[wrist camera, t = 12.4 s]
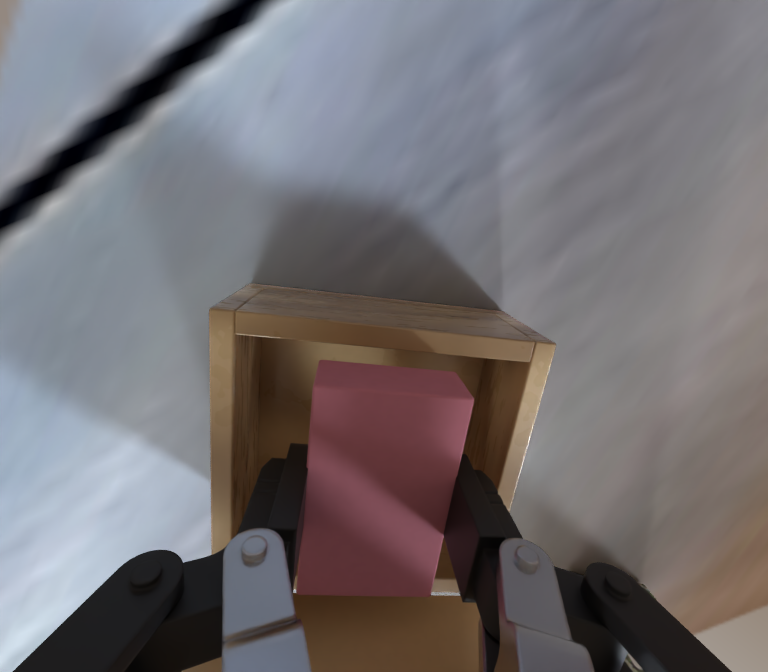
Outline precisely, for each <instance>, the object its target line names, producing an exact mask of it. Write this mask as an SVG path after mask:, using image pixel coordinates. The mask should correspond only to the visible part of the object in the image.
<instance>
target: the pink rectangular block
mask: <svg viewBox="0 0 768 672" xmlns="http://www.w3.org/2000/svg"><path fill="white" fill-rule="evenodd" d="M473 403H474V398H473V396H472V395H471V394H470V392H469V391H468V389H467V388H466V386H465V385H464V383H463V382H462V380H461V379H460V377H459V376H458V375H457V373H456V372H452V371H441V370H430V369H419V368H408V367H397V366H386V365H375V364H364V363H353V362H342V361H331V360H320V361H319V363H318V368H317V372H316V376H315V380H314V385H313V392H312V404H311V417H310V429H309V442H308V454H307V466H306V467H307V468H308V475H307V488H306V500H305V512H304V524H303V533H302V539H301V545H300V553H299V565H298V578H297V590H296V592H297V594H298V595H336V596H397V597H430V596H431V592H432V587H433V583H434V578H435V574H436V569H437V565H438V560H439V556H440V551H441V547H442V542H443V538H444V536H443V534H444V530H445V525H446V521H447V516H448V512H449V507H450V503H451V498H452V493H453V489H454V484H455V480H456V477H457V475H458V470H459V466H460V461H461V457H462V452H463V448H464V443H465V439H466V434H467V430H468V425H469V421H470V417H471V412H472V408H473Z"/></svg>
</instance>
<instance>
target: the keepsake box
mask: <svg viewBox="0 0 768 672" xmlns="http://www.w3.org/2000/svg"><path fill="white" fill-rule="evenodd" d="M209 346H210V448H211V550H212V555H213V554H215V553H217V552H219V551H221V550H222V549H223V548H225V547H226V546H227V544H228V543H229V542H230V540H232V539H233V538H234V537H235V536H236V535H237V533H238V530H239V528H240V525H241V522H242V519H243V517H244V514H245V511H246V509H247V506H248V503H249V501H250V498H251V495H252V492H253V490H254V487H255V484H256V482H257V479H258V476H259V474H260V471H261V468H262V467H263V466H264V465H265V464H266V463H267V462H268V461H269V460H270V459H271V458H285V459H286V457H287V454H288V450H289V447H290V444H291V443H300V444H308V442H309V429H310V417H311V404H312V392H313V385H314V380H315V376H316V372H317V368H318V363H319V361H320V360H331V361H342V362H353V363H364V364H375V365H386V366H397V367H408V368H419V369H430V370H441V371H452V372H456V373H457V375H458V376H459V377H460V379H461V380H462V382H463V383H464V385H465V386H466V388H467V389H468V391H469V392H470V394H471V395H472V396H473V398H474V403H473V408H472V412H471V417H470V421H469V425H468V430H467V434H466V439H465V443H464V448H463V452H462V454H466V455H467V456H468V458H469V460H470V463H471V465H472V467H473V469H474V470H481V471H482V472H483V473H485V474H486V475H487V476H488V477H489V478H490V479H491V480H492V481H493V483H494V485H495V487H496V489H497V491H498V495H500V496H501V498H502V500H503V504H504V505H505V506H506V508H507V510H508V511H509V512H510V509H511V505H512V502H513V498H514V494H515V491H516V487H517V484H518V480H519V477H520V473H521V469H522V466H523V462H524V459H525V455H526V452H527V448H528V445H529V441H530V437H531V434H532V430H533V427H534V423H535V420H536V416H537V412H538V409H539V405H540V402H541V398H542V395H543V391H544V387H545V384H546V380H547V377H548V373H549V370H550V366H551V363H552V359H553V355H554V352H555V348H556V344H555V343H554V342H552V341H551V340H549V339H547V338H546V337H544V336H542V335H541V334H539V333H537V332H536V331H534V330H532V329H531V328H529V327H528V326H526V325H524V324H523V323H521V322H519V321H518V320H516V319H514V318H513V317H511V316H510V315H508V314H506V313H505V312H503V311H496V310H487V309H478V308H469V307H460V306H451V305H442V304H433V303H424V302H415V301H406V300H397V299H388V298H379V297H370V296H361V295H352V294H343V293H335V292H326V291H317V290H308V289H299V288H290V287H281V286H272V285H263V284H254V283H249V284H248V285H246V286H245V287H244V288H242V289H240V290H239V291H237V292H235V293H234V294H232V295H231V296H229V297H227V298H226V299H224V300H222V301H221V302H219V303H218V304H216V305H214V306H213V307H211V308H210V309H209ZM299 553H300V552H299ZM298 565H299V558H298V564H297V570H296V576H295V582H294V589H293V590H297V578H298ZM432 592H454V593H460V592H459V588H458V585H457V581H456V578H455V574H454V571H453V567H452V564H451V560H450V557H449V553H448V550H447V546H446V543H445V539H444V538H443V542H442V547H441V551H440V556H439V560H438V565H437V569H436V574H435V578H434V583H433V587H432Z"/></svg>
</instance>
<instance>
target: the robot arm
mask: <svg viewBox="0 0 768 672" xmlns="http://www.w3.org/2000/svg"><path fill="white" fill-rule="evenodd" d="M307 454H308V444H300V443H291V444H290V447H289V450H288V454H287V457H286V459H285V458H271V459H270V460H269V461H268V462H267V463H266V464H265V465H264V466H263V467H262V468H261V471H260V474H259V476H258V479H257V482H256V484H255V487H254V490H253V492H252V495H251V498H250V501H249V503H248V506H247V509H246V511H245V514H244V517H243V519H242V522H241V525H240V528H239V530H238V533H237V535H236V536H235V537H234V538H233V539H232V540H230V542H229V543H228V544H227V546H226V547H225V548H223V549H222V550H221V551H219V552H217V553H215V554H213V555H210V556H208V557H204V558H201V559H197V560H192V561H188V562H184V563H183V562H182V560H181V558H180V557H179V556H178V555H177V554H176V553H174V552H171V551H167V550H154V551H149V552H146V553H143V554H140V555H138V556H136V557H134V558H132V559H130V560H129V561H128V562H126V563H125V564H123V565H122V566H121V567H120V568H119V569H118V570H117V571H116V572H115V573H114V574H113V575H112V576H111V577H110V578H109V579H107V580H106V581H105V582H104V583H103V584H102V585H101V586H100V587H99V588H98V589H97V590H96V591H95V592H94V593H93V594H92V595H91V596H90V597H89V598H88V599H87V600H86V601H85V602H84V603H83V604H82V605H81V606H80V607H79V608H78V609H77V610H76V611H75V612H74V613H73V614H72V615H71V616H69V617H68V618H67V619H66V620H65V621H64V622H63V623H62V624H61V625H60V626H59V627H58V628H57V629H56V630H55V631H54V632H53V633H52V634H51V635H50V636H49V637H48V638H47V639H46V640H45V641H44V642H43V643H42V644H41V645H40V646H39V647H38V648H37V649H36V650H35V651H34V652H33V653H31V654H30V655H29V656H28V657H27V658H26V659H25V660H24V661H23V662H22V663H21V664H20V665H19V666H18V667H17V668H16V669H15V670H14V671H13V672H182V671H183V670H186V669H189V668H192V667H194V666H197V665H200V664H203V663H206V662H209V661H211V660H214V659H217V658H220V657H222V672H312V670H311V665H310V659H309V654H308V648H307V643H306V637H305V632H304V627H303V624H302V621H301V619H297V617H296V612H295V607H294V601H293V589H294V582H295V576H296V570H297V564H298V558H299V552H300V545H301V539H302V533H303V524H304V512H305V500H306V488H307V475H308V468H307V467H306V466H307ZM443 536H444V539H445V543H446V546H447V550H448V553H449V557H450V560H451V564H452V567H453V571H454V574H455V578H456V581H457V585H458V588H459V592H460V595H461V599H462V602H467V603H476V604H477V608H478V611H479V614H480V619H479V623H478V645H479V672H633V671H632V670H631V668H630V667H629V666H628V665H627V664H626V663H625V658H626V656H627V654H628V653H629V654H630V655H631V656H632V658H633V659H634V660H635V661H636V662H637V663H638V664H639V666H640V667H641V668H642V669H643V670H644V671H645V672H732V671H730V670H729V669H728V668H727V667H726V666H725V665H724V664H723V663H722V662H721V661H720V660H719V659H718V658H717V657H716V656H715V655H714V654H712V653H711V652H710V651H709V650H708V649H707V648H706V647H705V646H704V645H703V644H702V643H701V642H700V641H699V640H698V639H696V637H695V636H693V635H692V634H691V633H690V632H689V631H688V630H687V629H686V628H685V627H684V626H683V625H682V624H681V623H680V622H679V621H678V620H677V619H676V618H674V617H673V616H672V615H671V614H670V613H669V612H668V611H667V610H666V609H665V608H664V607H663V606H662V605H661V604H660V603H659V602H658V601H656V600H655V599H654V598H653V597H652V596H651V595H650V594H649V593H648V592H647V591H646V590H645V589H644V588H643V587H642V586H641V585H640V584H639V583H637V582H636V581H635V580H634V579H633V578H632V577H631V576H629V575H628V574H627V573H625V572H624V571H622V570H620V569H618V568H617V567H614V566H612V565H609V564H606V563H593V564H590V565H589V566H588V568H587V570H586V572H585V575H584V576H583V575H580V574H576V573H573V572H570V571H567V570H564V569H561V568H558V567H555V566H554V565H553V563H552V561H551V559H550V558H549V556H548V555H547V554H546V553H545V552H544V551H543V550H542V549H541V548H540V547H538V546H537V545H535V544H534V543H532V542H530V541H527V540H524V539H523V538H522V536H521V534H520V532H519V530H518V528H517V526H516V525H515V523H514V521H513V519H512V517H511V515H510V513H509V511H508V510H507V508H506V506H505V505H504V504H503V500H502V498H501V496H500V495H498V491H497V489H496V487H495V485H494V483H493V481H492V480H491V479H490V478H489V477H488V476H487V475H486V474H485V473H483V472H482V471H481V470H474V469H473V467H472V465H471V463H470V460H469V458H468V456H467V455H466V454H462V457H461V461H460V466H459V470H458V475H457V477H456V480H455V484H454V489H453V493H452V498H451V503H450V507H449V512H448V516H447V521H446V525H445V530H444V534H443Z"/></svg>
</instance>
